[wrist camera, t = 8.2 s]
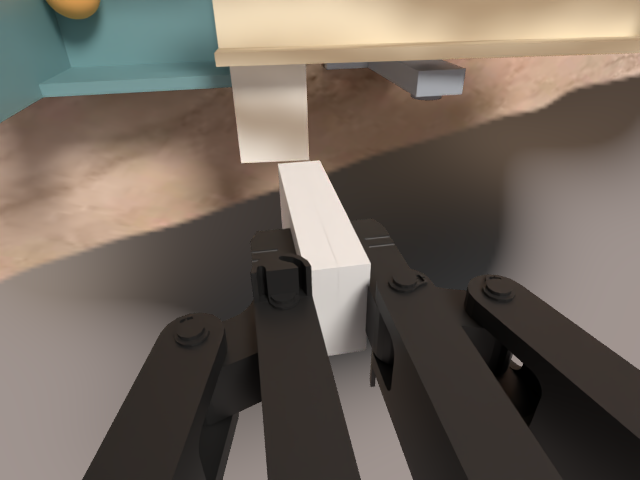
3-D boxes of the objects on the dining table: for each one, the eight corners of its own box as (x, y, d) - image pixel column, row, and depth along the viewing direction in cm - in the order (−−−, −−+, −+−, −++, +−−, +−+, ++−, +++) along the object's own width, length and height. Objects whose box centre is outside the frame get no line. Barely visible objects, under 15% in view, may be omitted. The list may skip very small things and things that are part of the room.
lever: (204, -103, 23) (189, -120, 19) (684, -107, 24) (759, -124, 20) (236, 153, 30) (229, 177, 26) (604, 136, 32) (648, 157, 28)
